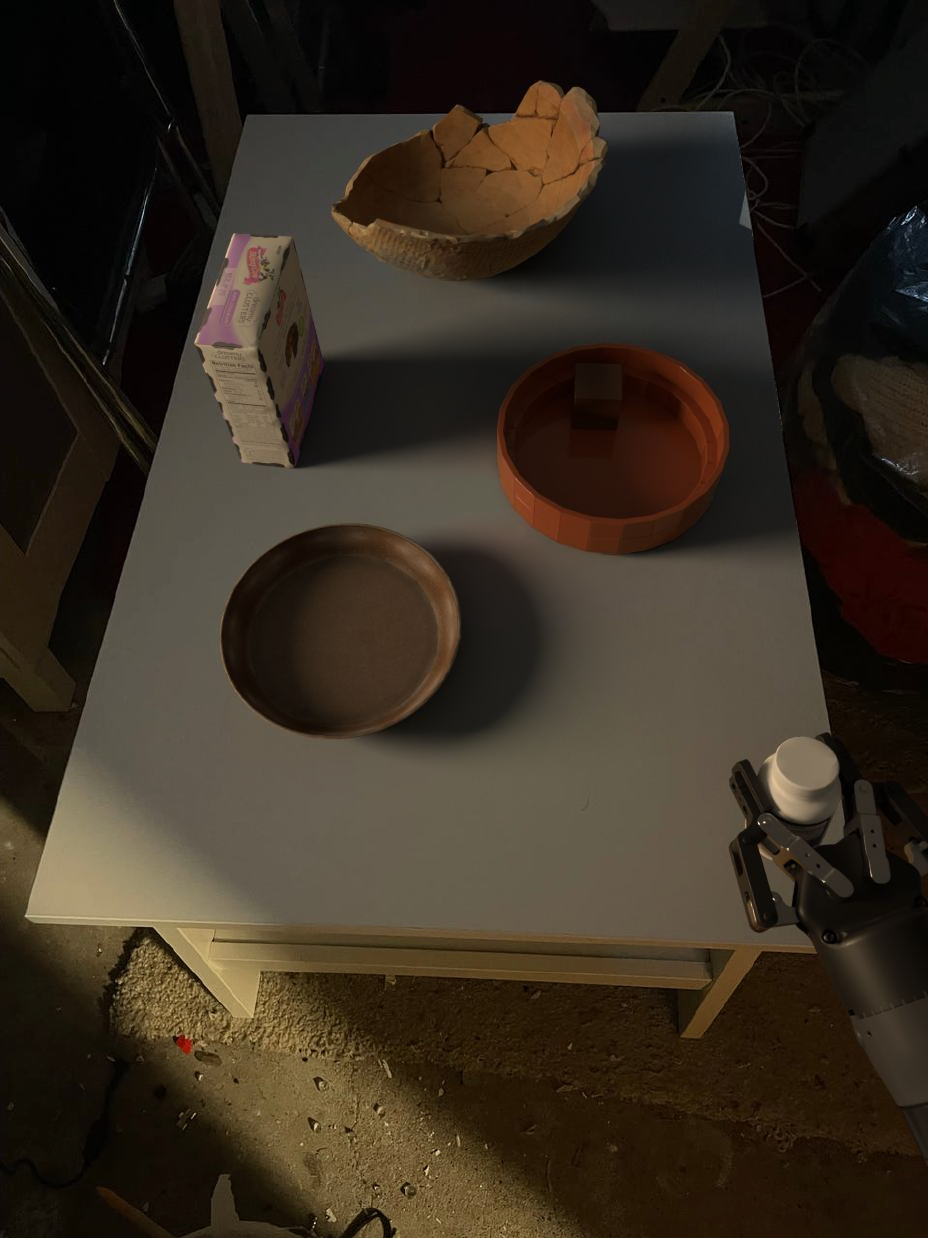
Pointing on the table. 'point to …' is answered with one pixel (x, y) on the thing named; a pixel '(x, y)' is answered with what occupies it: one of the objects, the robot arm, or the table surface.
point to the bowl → (612, 452)
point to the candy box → (262, 349)
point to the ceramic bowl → (477, 187)
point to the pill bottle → (802, 788)
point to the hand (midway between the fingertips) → (778, 751)
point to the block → (596, 396)
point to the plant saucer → (340, 631)
